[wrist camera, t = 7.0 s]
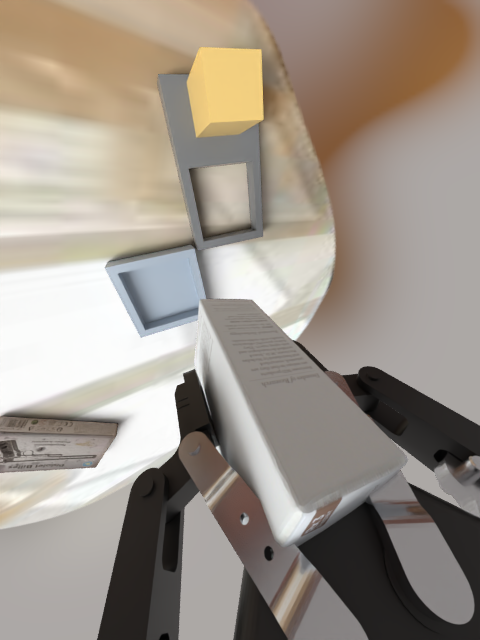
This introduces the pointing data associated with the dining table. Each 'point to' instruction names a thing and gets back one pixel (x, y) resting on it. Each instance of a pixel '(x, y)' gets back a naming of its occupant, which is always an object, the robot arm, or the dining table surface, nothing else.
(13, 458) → the box
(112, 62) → the dining table surface
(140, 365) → the dining table surface
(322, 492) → the skincare box
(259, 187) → the block
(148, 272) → the tray
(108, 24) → the dining table surface
